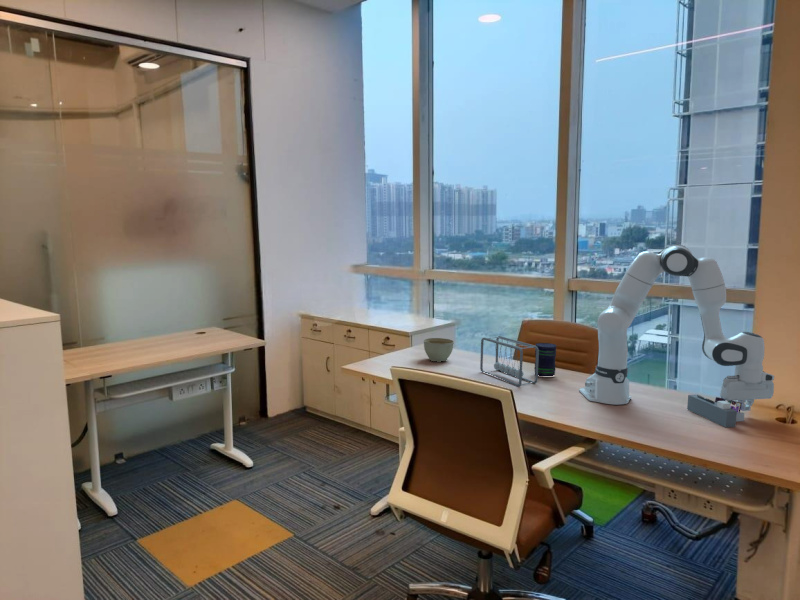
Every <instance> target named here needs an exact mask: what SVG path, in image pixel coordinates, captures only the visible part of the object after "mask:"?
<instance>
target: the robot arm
mask: <svg viewBox="0 0 800 600" xmlns="http://www.w3.org/2000/svg"><path fill="white" fill-rule="evenodd" d="M662 273H667V274H668V275H670V276H674V277H687V279H688V280H689V282H690V287H691V288H690V289H691V290H692V295H693V298H694V301H695V303H696V306H697V308H698V311H699V314H700V321H701V325H702V329H703V330H702V331H703V338H702V339H703V340H702V344H701V351H702V352H703V355H704V356H705V357H706V358H707V359H709V360H711V361H713V362H714V363H716V364H718V365H720V366H722V367H731V366H732V367H733V366H734V375H727V376H726V377H724V378H723V380H722V384H721V389H720V393H719V394H720V398H722V399H724V400H725V401H726V402H728V401H737V402H740V403H742V405H741V409H740V411H742V412H745V411H746V412H747V411H751V408H752V406H753V405H754V403H755V400H766V399H767V400H770V399H772V398H773V396H774V391H775V384H774V383H775V382H774V380H775V375H774V374H772V373H768V372H766V371H763V370H764V366H763V362H764V359H765V340H764V338H763V337H762V336H761V335H759V334H757V333H754V332H751V331H750V332H749V331H740V333H738V334H735V335H734V336H731V337H729V338H727V337H726V335H725V334H724V333H723V328H722V325H721V324H722V323H721V319H720V310H721V308H722V307H723V306H724V305H725V304H726V302H727V288H726V287H727V286H726V283H725V279H724V277H723V273H722V271H721V269H720V267H719V264H718V263H717V261H716V260H715V258H712V257H706V256H705V257H699V258H698V257H695V255H693V254H692V251H691V250H690V249H689V248H688V247H686V246H685V245H682V244H672V245H668V246H667V247H666V248H664V249H663V250H661V251H659V252H658V253H655V252H652V251H642V252H640V253H639V254H638V255H637V256H636V257H635V258H634V259H633V261H632V262H631V264H630V265H629V267H628V268H627V270H626V271H625V273H624V275H623V277H622V278H621V280H620V282H619V284H618V286H617V287H616V289H615V291H614V294H613V296H612V299H611V301H610V302H609V305H607V308H606V309H605V310H603V311H601V313H600V314H599V315H598V317H597V320H596V321H597V340H598V360H597V364H595V365H594V368H595V370H594V373H593V374H591V375H590V376H589V377H587V378H586V379H585V382H584V387H581V388H579V390H578V391H579V393H581V394H582V395H583V396H584V398H586V399H587V400H588V401H590V402H595V403H596V402H597V403H601V404H606V405H615V406H616V405H626V404H628V403H629V402H630V401H631V400H632V396H631V395H630V380H629V379H628V378H627V377H628V373H629V371H628V370H629V368H628V351H629V348H628V338H627V337H628V329H629V327H630V326H631V325H632V323H633V321H634V319H635V318H636V316H637V314H638V311H639V310H640V308H641V306H642V304H643V302H644V300H645V299H646V297H647V295H648V293H650V290H651V289H652V287H653V286H654V284H655V281H656V280H657V278H658V277H659V276H660V275H661V274H662ZM630 399H631V400H630Z"/></svg>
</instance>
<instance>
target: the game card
mask: <svg viewBox="0 0 800 600" xmlns="http://www.w3.org/2000/svg"><path fill="white" fill-rule="evenodd" d="M717 401H726V400H724V399H722V398H721V397H718V396H716V397H715V400H714V402H717ZM727 402H729V403H731V406H730V408H731V409H734V410H736V411H737V413H741V410H740V409H741V405H742V403H740V402H738V401H737V400H732V401H727Z"/></svg>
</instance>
